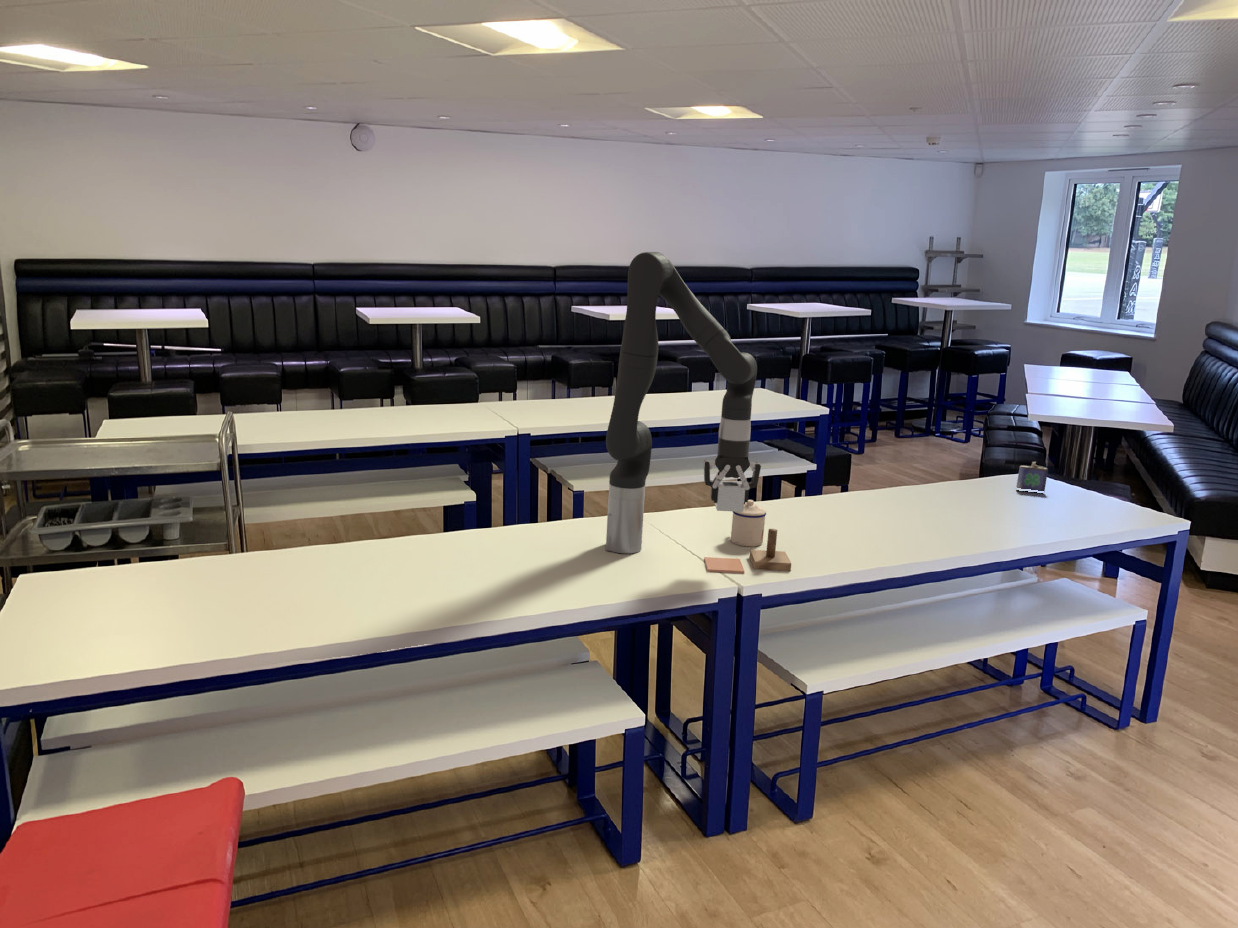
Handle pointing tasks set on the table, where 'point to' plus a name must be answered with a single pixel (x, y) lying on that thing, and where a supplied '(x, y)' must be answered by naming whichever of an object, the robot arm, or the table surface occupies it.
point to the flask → (1032, 477)
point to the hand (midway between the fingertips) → (729, 502)
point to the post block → (770, 556)
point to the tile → (723, 565)
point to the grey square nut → (730, 496)
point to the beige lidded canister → (748, 525)
